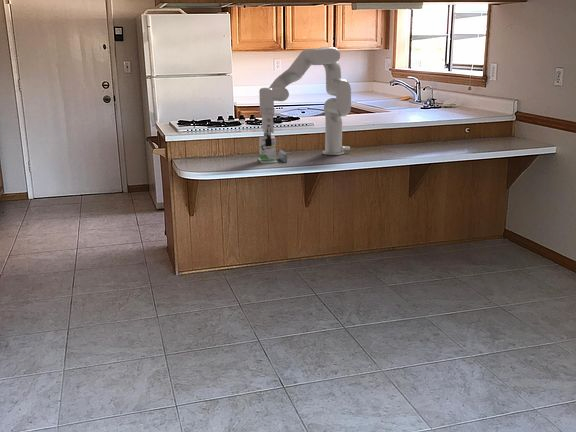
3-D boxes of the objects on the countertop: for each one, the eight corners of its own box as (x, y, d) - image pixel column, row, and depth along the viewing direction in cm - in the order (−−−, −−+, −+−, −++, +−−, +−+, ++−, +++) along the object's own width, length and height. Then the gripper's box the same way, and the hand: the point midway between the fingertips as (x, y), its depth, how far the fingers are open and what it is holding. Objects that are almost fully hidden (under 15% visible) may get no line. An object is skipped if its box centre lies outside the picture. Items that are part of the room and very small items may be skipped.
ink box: (260, 159, 326) (260, 137, 323) (259, 158, 331) (258, 136, 328) (276, 158, 328) (276, 137, 325) (274, 157, 333) (274, 135, 329)
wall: (282, 158, 338) (282, 150, 336) (287, 162, 325) (287, 154, 324) (279, 158, 337) (278, 150, 336) (283, 162, 325) (283, 154, 324)
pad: (273, 158, 337) (273, 157, 337) (278, 162, 324) (278, 161, 324) (257, 159, 335) (257, 158, 335) (261, 163, 323) (261, 162, 323)
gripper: (276, 112, 315) (277, 147, 320) (271, 109, 331) (271, 142, 336) (262, 113, 314) (263, 148, 319) (257, 110, 330) (258, 143, 335)
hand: (267, 144), depth 327 cm, fingers closed on ink box, 5 cm apart
